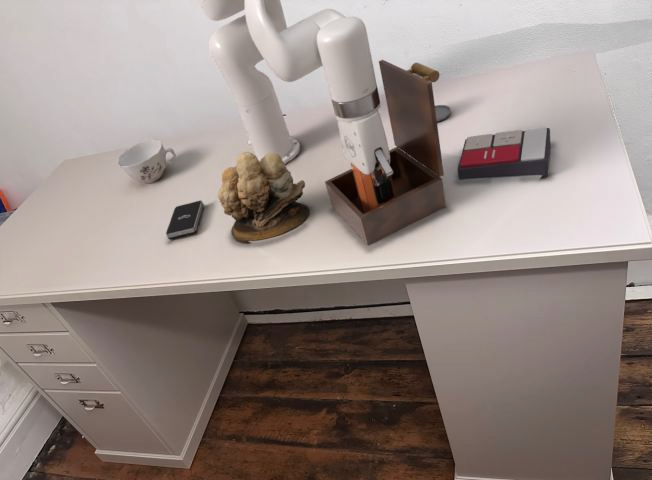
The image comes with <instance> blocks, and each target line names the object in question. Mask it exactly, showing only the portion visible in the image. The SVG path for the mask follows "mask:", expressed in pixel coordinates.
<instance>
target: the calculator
mask: <svg viewBox="0 0 652 480" xmlns="http://www.w3.org/2000/svg"><path fill="white" fill-rule="evenodd" d="M550 156H551V128H550V127H539V128H538V127H537V128H531V129H526V130H522V129H517V130H510V131H502V132H496V133H495V134H493V133H487V134H479V135H472V136H467V138H465V139H464V144H463V147H462V151H461V155H460V157H459V161H458V166H457V175H458V179H459V180H471V179H490V178H507V177H509V178H510V177H526V176H540V179H542V178H547V177H548V176H549V170H550V169H549V168H550V158H551V157H550Z"/></svg>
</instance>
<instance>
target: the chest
mask: <svg viewBox="0 0 652 480" xmlns="http://www.w3.org/2000/svg"><path fill="white" fill-rule="evenodd" d="M389 153H390V164H389V165H390V167H391V169H392V171H393V175H392V181H393V186H394V191H395V196H396V198H395V199H393V200H391V201H389V202H387V203H385V204H383V205H381V206H379V207H377V208H375V209H373V210H371V211H369V212H367V213H364V212H363V210H362V207H361V203H360V199H359V196H358V192H357V188H356V184H355V180H354V176H353V172H352V168H350V169H348V170H346V171H344V172H342V173H340V174H337V175H336V176H333V177H331V178H329V179H327V180H325V182H324V184H325V187H326V190H327V193H328V198H329V200H330V203H331V206H332V208H333V209H334V211H335V212H336V213H337V214H338V215H339V216H340V217H341V218H342V219H343V220H344V222H346V224H347V225H348V226H349V227H350V228H351V229H352V230H353V231H354V233H356V235H357V236H358V237H359V238H360V239H361V240H362V241H363V242H364V243H365V244H366V245H367V246H371V245H373V244H375V243H377V242H379V241H381V240H383V239H385V238H387V237H388V236H392V234H394V233H397V232H399V231H401V230H403V229H405V228H407V227H410V226H411V225H413V224H415V223H417V222H419V221H421V220H423V219H425V218H428V217H429V216H431V215H433V214H435V213H437V212H439V211H441V210H443V209H445V208H446V207H447V204H446V203H447V202H446V198H445V189H444V181H443V178H442V176H441V177H439V176H438V175H436V174H435V173H434V172H432V171H431V170H429V169H428V168H426V167H425V166H424V165H422V164H421V163H419V162H418V161H416V160H415V159H414V158H412V157H411V156H409V155H408V154H406V153H405V152H404V151H402V150H401V149H399V148H398V147H396V146H395V147H394V148H391V149H389Z"/></svg>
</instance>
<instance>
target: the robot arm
mask: <svg viewBox="0 0 652 480" xmlns="http://www.w3.org/2000/svg"><path fill="white" fill-rule="evenodd" d="M198 1H199V4H200V6H201V9H202V11H203V12H204V14H205V16H206V17H207V18H208V19H209V20H211V21H214V22H219V21H223V20H226V19H228V18H230V17H233V16H234V15H237V14H238V13H240V12H243V11H244V14H243V15H242V16H239V17H237V18H235V19H234V20H232V21H230V22H228V23H226V24H224V25H222V26H220V27H219V28H218V29H217V30H215V32H213V33H212V35H211V36H210V38H209V41H208V42H209V43H208V50H209V53H210V55H211V58H212V60H213V62H214V63H215V65H216V67H217V68H218V70H219V72H220V74H221V76H222V78H223V79H224V81H225V83H226V85H227V88H228V90H229V92H230V95H231V98H232V100H233V102H234V104H235V108H236V110H237V112H238V114H239V118H240V120H241V122H242V125H243V127H244V130H245V133H246V136H247V137H248V140H247V145H248V146H251V148H252V151H253V153H252V154H255V156H256V157H257V158H258V160H259V162H260V160H261V159H262V158H263V157H264V156H265V155H266V154H268V153H277V154H279V156H280V157H281V158H282V161H283V162H284V165H287V163H289V162H291V161H292V160H293V159H294V158H296V156H297V155H298V154H299V153H300V151H301V144H300V142H299V141H298V139H295V138H292V137H291V135H290V132H289V130H288V126H287V123H286V120H285V117H284V115H283V111H282V109H281V105H280V102H279V99H278V96H277V94H276V90H275V87H274V85H273V82H272V80H271V78H270V77H269V76H268V75H267V74H266V73H264V72H263V71H260V70H259V69H258V68H256V65H257V64H259V63H260V62H262V61H263V60H264V62H265V63H266V65H267V66H268V68H269V69H270V70H271V71H272V73H273V74H274V75H275V76H276V77H277V78H278V79H280V80H281V81H282V82H286V83H292V82H295V81H298V80H300V79H302V78H304V77H305V76H307V75H309V74H311V73H312V72H314V71H316V70H318V69H319V68H321V67H322V69H323V72H324V73H323V74H324V77H325V80H326V84H327V88H328V93H329V96H330V99H331V104H332V107H333V111H334V116H335V118H336V121H337V128H338V133H339V138H340V142H341V146H342V147H341V148H342V151H343V155H344V157H345V158H346V160H348V161H349V162H350V164H351V163H352V164H353V165H354V166H355V167H356V168H358V169H359V170H360V171H361V172H362V173H364V174H366V175H369V174H370V173H371V175H372V178H373V180H374V183H375V185H373V187H374V192H375V196H376V201H377V203H378V204H381V203H384V202H386V201H388V200H390V199H392V198H393V197H394V194H393V189H392V184H391V180H392V179H391V178H392V175H393V171H392V169H391V167H390V165H389V164H390V153H389V150H390V148H389V143H388V139H387V136H386V135H387V134H386V131H385V128H384V124H383V120H382V117H381V114H380V112H379V111H380V108H381V105H382V104H381V100H380V99H381V98H380V94H379V89H378V84H377V79H376V73H375V68H374V63H373V59H372V58H373V57H372V53H371V47H370V42H369V37H368V32H367V27H366V24H365V23H364V21H363V20H362V19H361V18H359V17H356V16H345V15H344V14H342V13H341V12H340V11H338V10H336V9H333V8H325V9H322V10H319V11H317V12H316V13H313V14H312V15H310V16H308V17H306V18H304V19H302V20H300V21H298V22H296V23H294V24H293V25H291V26H289V27H288V26H287V22H286V21H287V20H286V17H285V14H284V9H283V5H282V2H281V0H198ZM376 163H378V165H379V166H378V167H375V164H376ZM380 169H381V170H382V175H380V176H379V178H378V177H377V174H376V171H378V170H380Z"/></svg>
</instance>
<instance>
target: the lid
mask: <svg viewBox="0 0 652 480" xmlns="http://www.w3.org/2000/svg"><path fill="white" fill-rule="evenodd" d="M378 64H379V70H380V75H381V80H382V85H383V92H384V96H385V101H386V106H387V107H386V108H387V111H388V117H389V122H390V123H389V124H390V128H391V133H392V137H393V138H392V139H393V142H394V146H395V148H396V147H398V148H399V149H401V150H402V151H403V152H405V153H406V154H408V155H409V156H411V157H412V158H413V159H415V160H416V161H418V162H419V163H421V164H422V165H423V166H425V167H426V168H428V169H429V170H431V171H432V172H433V173H435V174H436V175H438V176H439V177H441V178H442V177H444V175H445V173H444V166H443V157H442V151H441V150H442V149H441V141H440V136H439V128H438V121H437V119H436V111H435V106H436V104H435V97H434V89H433V83H436V82H438V80H439V78H440V72H439V71H438V70H437V69H434V68H431V67H430V66H427V65H425V64H422V63H420V62H414V63H413V64H412V65H411V67H410V68H409V69H404V68H402V67H399V66H397V65H395V64H393V63H391V62H389V61H387V60H384V59H380V60H379V61H378Z"/></svg>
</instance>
